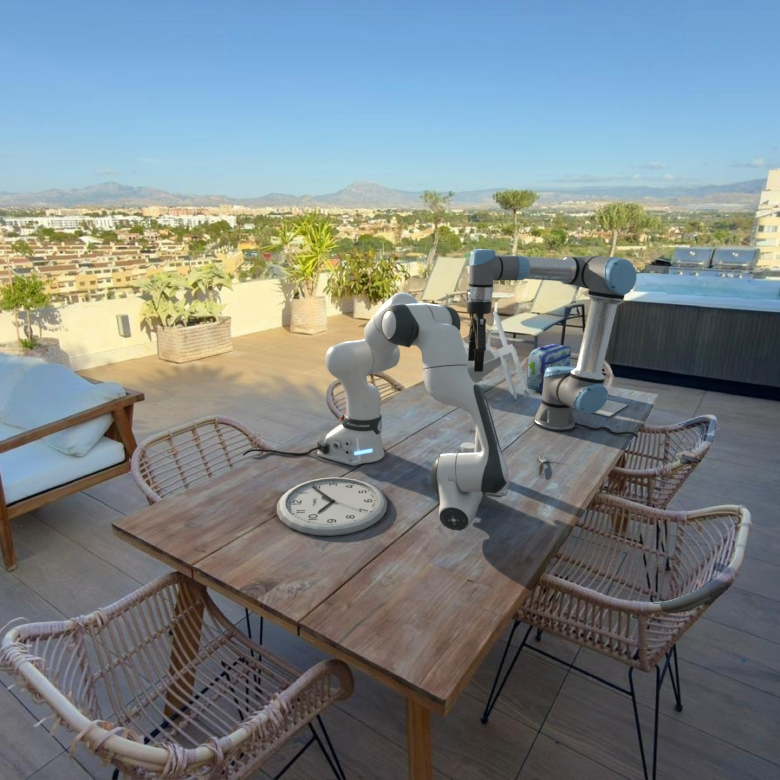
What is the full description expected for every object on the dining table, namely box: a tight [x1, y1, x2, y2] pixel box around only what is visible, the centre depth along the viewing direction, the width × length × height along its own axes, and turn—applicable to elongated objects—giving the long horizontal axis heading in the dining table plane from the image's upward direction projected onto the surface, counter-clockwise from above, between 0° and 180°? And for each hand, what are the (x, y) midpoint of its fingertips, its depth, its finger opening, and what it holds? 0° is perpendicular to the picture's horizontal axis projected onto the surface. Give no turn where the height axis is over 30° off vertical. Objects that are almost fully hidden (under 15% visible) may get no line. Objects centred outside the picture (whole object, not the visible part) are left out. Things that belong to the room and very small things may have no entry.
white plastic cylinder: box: [474, 428, 482, 452], centre depth 160 cm, size 5×5×19 cm
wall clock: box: [276, 476, 388, 537], centre depth 142 cm, size 30×2×30 cm
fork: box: [538, 451, 548, 475], centre depth 168 cm, size 3×16×2 cm, turn 160°
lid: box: [460, 441, 475, 453], centre depth 179 cm, size 5×5×2 cm
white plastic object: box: [462, 310, 531, 400], centre depth 245 cm, size 37×45×31 cm
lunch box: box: [526, 343, 572, 394], centre depth 248 cm, size 26×11×21 cm, turn 135°
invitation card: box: [594, 399, 629, 418], centre depth 226 cm, size 21×1×15 cm
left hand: (475, 468), depth 151 cm, fingers open, 8 cm apart
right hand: (475, 365), depth 170 cm, fingers open, 13 cm apart
